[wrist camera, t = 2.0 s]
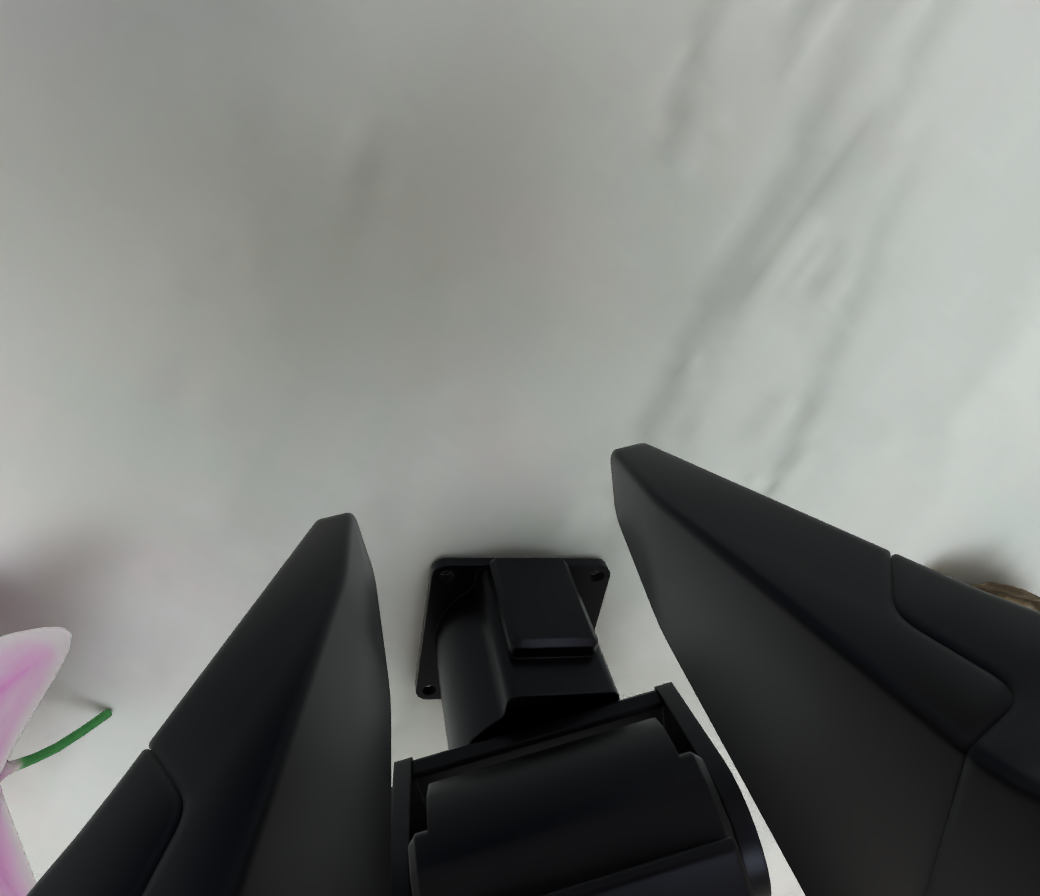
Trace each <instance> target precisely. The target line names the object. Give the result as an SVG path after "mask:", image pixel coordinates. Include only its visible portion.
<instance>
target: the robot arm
mask: <svg viewBox="0 0 1040 896" xmlns="http://www.w3.org/2000/svg"><path fill="white" fill-rule="evenodd" d="M611 471H612V482H613V493H614V504H615V510H616V515H617V519H618V522H619V525H620V528H621V530H622V533H623V535H624V538H625V540H626V543H627V546H628V548H629V551H630V553H631V556H632V558H633V561H634V563H635V566H636V569H637V571H638V574H639V576H640V579H641V581H642V584H643V586H644V589H645V592H646V594H647V597H648V599H649V602H650V604H651V607H652V609H653V612H654V614H655V617H656V619H657V621H658V624H659V626H660V628H661V630H662V632H663V634H664V636H665V638H666V640H667V642H668V644H669V646H670V648H671V650H672V651H673V653H674V655H675V657H676V659H677V661H678V662H679V664H680V666H681V668H682V670H683V672H684V673H685V675H686V677H687V679H688V681H689V683H690V684H691V686H692V688H693V690H694V692H695V694H696V695H697V697H698V699H699V701H700V703H701V705H702V706H703V708H704V710H705V712H706V714H707V716H708V717H709V719H710V721H711V723H712V725H713V727H714V728H715V730H716V732H717V734H718V736H719V738H720V739H721V741H722V743H723V745H724V747H725V749H726V750H727V752H728V754H729V756H730V758H731V760H732V761H733V763H734V765H735V767H736V769H737V771H738V772H739V774H740V776H741V778H742V780H743V782H744V783H745V785H746V787H747V789H748V791H749V793H750V794H751V796H752V798H753V800H754V802H755V804H756V806H757V807H758V809H759V811H760V813H761V815H762V817H763V818H764V820H765V822H766V824H767V826H768V828H769V829H770V831H771V833H772V835H773V837H774V839H775V840H776V842H777V844H778V846H779V848H780V850H781V851H782V853H783V855H784V857H785V859H786V861H787V862H788V864H789V866H790V868H791V870H792V872H793V873H794V875H795V877H796V879H797V881H798V883H799V884H800V886H801V888H802V890H803V892H804V894H805V895H806V896H1040V612H1038V611H1035V610H1032V609H1030V608H1027V607H1025V606H1022V605H1019V604H1017V603H1014V602H1011V601H1009V600H1006V599H1003V598H1001V597H998V596H995V595H993V594H990V593H987V592H985V591H982V590H980V589H978V588H975V587H973V586H970V585H968V584H966V583H963V582H961V581H958V580H956V579H954V578H951V577H949V576H946V575H944V574H942V573H939V572H937V571H934V570H932V569H930V568H927V567H925V566H923V565H921V564H918V563H916V562H914V561H912V560H909V559H907V558H905V557H903V556H900V555H898V554H894V555H892V556H891V554H890V552H889V551H888V550H886V549H884V548H882V547H879V546H877V545H875V544H873V543H870V542H868V541H866V540H863V539H861V538H859V537H857V536H854V535H852V534H850V533H848V532H845V531H843V530H841V529H839V528H836V527H834V526H832V525H829V524H827V523H825V522H823V521H820V520H818V519H816V518H814V517H811V516H809V515H807V514H805V513H802V512H800V511H798V510H795V509H793V508H791V507H789V506H786V505H784V504H782V503H780V502H777V501H775V500H773V499H771V498H768V497H766V496H764V495H761V494H759V493H757V492H755V491H752V490H750V489H748V488H746V487H743V486H741V485H739V484H737V483H734V482H732V481H730V480H728V479H725V478H723V477H721V476H718V475H716V474H714V473H712V472H709V471H707V470H705V469H703V468H700V467H698V466H696V465H694V464H691V463H689V462H687V461H684V460H682V459H680V458H678V457H675V456H673V455H671V454H669V453H666V452H664V451H662V450H660V449H657V448H655V447H653V446H650V445H648V444H645V443H640V444H636V445H631V446H627V447H623V448H619V449H616V450H614V451H613V452H612V455H611ZM443 571H451V572H450V573H449V574H446V575H442V574H440V573H442V572H443ZM595 571H599V572H598V573H597V574H594V575H591V574H592V573H593V572H595ZM609 577H610V571H609V569H608V567H607V565H606V563H605V562H604V561H603V560H602V559H592V558H441V559H439V560H437V561H435V562H434V563H433V564H432V567H431V569H430V577H429V584H428V591H427V599H426V606H425V613H424V621H423V628H422V635H421V643H420V650H419V658H418V665H417V672H416V680H415V686H416V694H417V695H418V697H420V698H422V699H442V706H443V713H444V720H445V728H446V735H447V742H448V749H449V750H447V751H443V752H440V753H436V754H433V755H430V756H426V757H423V758H419V759H416V760H413V758H412V757H411V758H407V759H404V760H401V761H397V762H394V773H393V787H391V702H390V689H389V678H388V671H387V663H386V656H385V648H384V641H383V633H382V626H381V618H380V611H379V603H378V596H377V588H376V582H375V576H374V572H373V568H372V565H371V562H370V559H369V556H368V553H367V550H366V547H365V544H364V541H363V538H362V535H361V532H360V529H359V526H358V523H357V520H356V518H355V517H354V515H353V514H351V513H344V514H340V515H335V516H331V517H327V518H323V519H319V520H318V521H317V522H315V524H314V525H313V526H312V527H311V529H310V530H309V531H308V533H307V534H306V535H305V537H304V538H303V539H302V541H301V542H300V543H299V545H298V546H297V547H296V549H295V550H294V551H293V553H292V554H291V555H290V557H289V558H288V559H287V561H286V562H285V563H284V565H283V566H282V567H281V569H280V570H279V571H278V573H277V574H276V575H275V577H274V578H273V579H272V580H271V582H270V583H269V584H268V586H267V587H266V588H265V590H264V591H263V592H262V594H261V595H260V596H259V598H258V599H257V600H256V602H255V603H254V604H253V606H252V607H251V608H250V610H249V611H248V612H247V614H246V615H245V616H244V618H243V619H242V620H241V622H240V623H239V624H238V626H237V627H236V628H235V630H234V631H233V632H232V634H231V635H230V636H229V638H228V639H227V640H226V642H225V643H224V644H223V646H222V647H221V648H220V650H219V651H218V652H217V653H216V655H215V656H214V657H213V659H212V660H211V661H210V663H209V664H208V665H207V667H206V668H205V669H204V671H203V672H202V673H201V675H200V676H199V677H198V679H197V680H196V681H195V683H194V684H193V685H192V687H191V688H190V689H189V691H188V692H187V693H186V695H185V696H184V697H183V699H182V700H181V701H180V703H179V704H178V705H177V707H176V708H175V709H174V711H173V712H172V713H171V715H170V716H169V717H168V719H167V720H166V721H165V723H164V724H163V725H162V726H161V728H160V729H159V730H158V732H157V733H156V734H155V736H154V737H153V738H152V740H151V741H150V743H149V748H150V749H151V750H149V749H145V750H144V751H142V753H141V754H140V755H139V757H138V758H137V759H136V761H135V762H134V763H133V764H132V766H131V767H130V768H129V770H128V771H127V772H126V774H125V775H124V776H123V778H122V779H121V780H120V782H119V783H118V784H117V786H116V787H115V788H114V789H113V791H112V792H111V793H110V794H109V796H108V797H107V798H106V800H105V801H104V802H103V803H102V805H101V806H100V807H99V808H98V810H97V811H96V812H95V814H94V815H93V816H92V817H91V819H90V820H89V821H88V822H87V824H86V825H85V826H84V827H83V829H82V830H81V831H80V833H79V834H78V835H77V836H76V838H75V839H74V840H73V841H72V842H71V843H70V845H69V846H68V847H67V848H66V849H65V850H64V852H63V853H62V854H61V855H60V856H59V858H58V859H57V860H56V861H55V862H54V863H53V865H52V866H51V867H50V868H49V869H48V870H47V872H46V873H45V874H44V875H43V876H42V877H41V879H40V880H39V881H38V882H37V883H36V885H35V886H34V887H33V888H32V889H31V890H30V892H29V893H28V894H27V895H26V896H771V883H770V878H769V873H768V867H767V864H766V860H765V856H764V852H763V849H762V846H761V842H760V839H759V836H758V833H757V830H756V827H755V825H754V822H753V820H752V817H751V814H750V812H749V809H748V807H747V804H746V802H745V800H744V797H743V795H742V793H741V791H740V788H739V786H738V785H737V783H736V781H735V779H734V777H733V775H732V773H731V771H730V769H729V768H728V766H727V764H726V763H725V761H724V760H723V758H722V757H721V755H720V754H719V752H718V751H717V749H716V748H715V746H714V745H713V743H712V742H711V740H710V739H709V737H708V736H707V734H706V733H705V731H704V730H703V728H702V727H701V725H700V724H699V722H698V721H697V719H696V718H695V716H694V715H693V713H692V712H691V710H690V709H689V707H688V706H687V704H686V703H685V701H684V700H683V698H682V697H681V696H680V694H679V693H678V691H677V690H676V688H675V687H674V685H673V684H672V682H670V683H666V684H663V685H659V686H656V687H654V690H653V691H650V692H647V693H643V694H640V695H636V696H633V697H629V698H626V699H622V700H620V698H619V694H618V691H617V689H616V686H615V684H614V681H613V679H612V676H611V674H610V671H609V669H608V666H607V664H606V661H605V659H604V656H603V654H602V651H601V649H600V646H599V644H598V639H597V636H596V634H595V631H594V630H595V627H596V623H597V619H598V616H599V612H600V609H601V605H602V602H603V598H604V595H605V591H606V588H607V584H608V581H609ZM429 685H431V686H429ZM426 686H429V687H426Z"/></svg>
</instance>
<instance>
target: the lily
mask: <svg viewBox="0 0 1040 896" xmlns="http://www.w3.org/2000/svg"><path fill="white" fill-rule="evenodd" d="M71 636H72V633H70V632H69V631H67V630H66V629H64V628H63V627H40V628H35V629H29V630H24V631H19V632H14V633H11V634H7V635H3V636H0V782H1V781H2V780H3V779H4V778H5V777H7V776H8V775H10V774H12V773H14V772H16V771H18V770H20V769H23V768H25V767H27V766H30V765H32V764H34V763H37V762H39V761H41V760H43V759H45V758H47V757H49V756H51V755H53V754H55V753H57V752H59V751H61V750H62V749H64V748H65V747H67V746H68V745H70V744H71V743H73V742H75V741H76V740H78V739H79V738H81V737H82V736H84V735H85V734H87V733H88V732H89V731H91V730H92V729H94V728H95V727H96V726H98V725H99V724H101V723H102V722H103V721H105V720H106V719H108V718H109V717H110V716H111V715H112V712H111V711H110V710H109V709H106V710H105V711H103V712H102V713H100V714H99V715H97V716H96V717H95V718H93V719H92V720H90V721H89V722H87V723H86V724H85V725H83V726H82V727H80V728H79V729H77V730H76V731H74V732H72V733H71V734H69V735H68V736H66V737H65V738H63V739H61V740H60V741H58V742H57V743H55V744H53V745H51V746H49V747H47V748H44V749H42V750H40V751H38V752H36V753H34V754H31V755H28V756H25V757H22V758H19V759H16V760H13V761H8V760H7V759H8V757H9V755H10V753H11V751H12V749H13V747H14V746H15V744H16V742H17V740H18V739H19V737H20V735H21V734H22V732H23V730H24V729H25V727H26V725H27V724H28V722H29V720H30V719H31V717H32V715H33V714H34V712H35V710H36V708H37V707H38V705H39V704H40V702H41V700H42V699H43V697H44V695H45V694H46V692H47V690H48V689H49V687H50V685H51V684H52V682H53V680H54V679H55V677H56V675H57V673H58V671H59V669H60V667H61V665H62V663H63V661H64V659H65V657H66V655H67V653H68V652H69V648H70V642H71ZM35 885H36V881H35V878H34V875H33V873H32V870H31V868H30V865H29V862H28V860H27V857H26V854H25V852H24V849H23V846H22V844H21V841H20V839H19V836H18V833H17V831H16V828H15V825H14V823H13V820H12V818H11V815H10V812H9V810H8V807H7V804H6V802H5V799H4V796H3V793H2V789H1V786H0V896H26V895H27V894H28V893H29V892H30V890H31V889H32V888H33V887H34V886H35Z"/></svg>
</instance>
